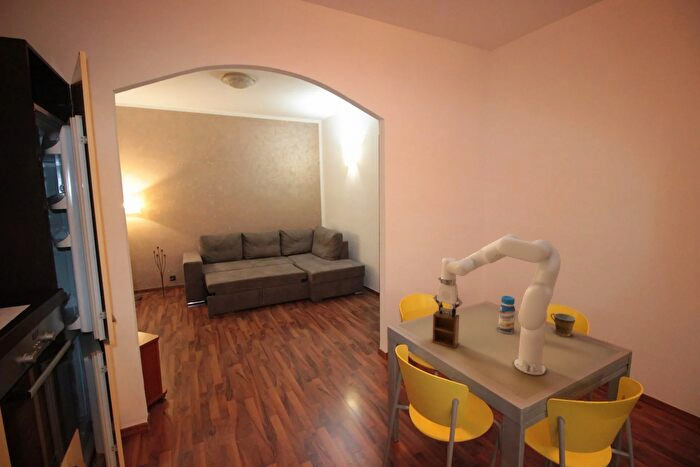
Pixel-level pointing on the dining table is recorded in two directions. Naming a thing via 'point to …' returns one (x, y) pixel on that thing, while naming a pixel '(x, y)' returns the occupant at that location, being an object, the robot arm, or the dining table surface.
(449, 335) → the brown open box
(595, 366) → the dining table surface
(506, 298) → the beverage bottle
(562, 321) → the ceramic cup
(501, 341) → the dining table surface
